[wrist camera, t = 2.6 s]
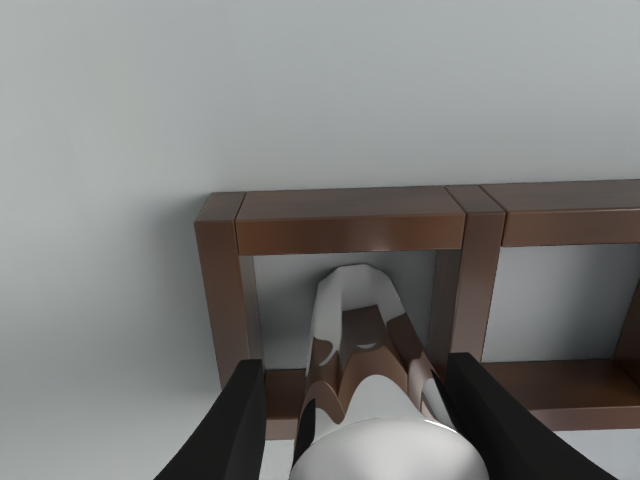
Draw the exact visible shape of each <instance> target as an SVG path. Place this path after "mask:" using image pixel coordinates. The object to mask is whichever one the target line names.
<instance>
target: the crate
mask: <svg viewBox="0 0 640 480" xmlns="http://www.w3.org/2000/svg"><path fill="white" fill-rule="evenodd" d="M194 227H195V233H196V239H197V245H198V251H199V257H200V263H201V269H202V275H203V281H204V287H205V293H206V299H207V305H208V311H209V317H210V323H211V329H212V335H213V341H214V347H215V353H216V359H217V365H218V371H219V377H220V383H221V389H222V390H223V389H224V387H225V385H226V384H227V382H228V380H229V379H230V377H231V375H232V373H233V372H234V370H235V368H236V366H237V364H238V362H239V361H241V360H243V359H262V364H263V373H264V383H265V392H266V401H267V423H266V437H265V440H292V439H295V434H296V428H297V422H298V416H299V410H300V404H301V399H302V395H303V390H304V382H305V374H306V370H278V371H266V373H265V364H264V355H263V346H262V336H261V327H260V318H259V308H258V299H257V290H256V280H255V271H254V262H253V256H254V255H285V254H317V253H348V252H379V251H410V250H437V255H436V266H435V276H434V286H433V296H432V306H431V316H430V326H429V336H428V346H427V357H428V359H429V361H430V362H431V364H432V366H433V368H434V369H435V371H436V373H437V375H438V376H439V378H440V380H441V381H442V383H443V385H444V384H445V376H446V368H447V360H448V353H456V352H469V353H470V354H471V355H472V356H473V357H474V358H475V359H476V360H477V361H478V362H479V363H480V364H481V365H482V366H483V367H484V368H485V369H486V370H487V371H488V372H489V373H490V374H491V375H492V376H493V377H494V378H495V379H496V380H497V381H498V382H499V383H500V384H501V385H502V386H503V387H504V388H505V389H506V390H507V391H508V392H509V393H510V394H511V395H512V396H513V397H514V398H515V399H516V400H517V401H518V402H520V403H521V404H522V405H523V406H524V407H525V408H526V409H527V410H528V411H529V412H530V413H531V414H532V415H534V416H535V417H536V418H537V419H538V420H539V421H541V422H542V423H543V424H544V425H545V426H546V427H548V428H549V429H550V430H551V431H576V430H606V429H637V428H640V281H639V283H638V286H637V289H636V292H635V295H634V298H633V301H632V304H631V307H630V310H629V313H628V316H627V319H626V322H625V325H624V328H623V331H622V334H621V337H620V340H619V343H618V346H617V349H616V352H615V355H614V358H613V360H612V359H601V360H571V361H540V362H510V363H481V359H482V353H483V347H484V341H485V335H486V329H487V323H488V318H489V312H490V306H491V300H492V294H493V288H494V282H495V276H496V270H497V264H498V258H499V252H500V246H502V247H525V246H556V245H587V244H618V243H640V180H609V181H578V182H546V183H515V184H484V185H478V186H477V185H453V186H444V187H443V186H414V187H383V188H351V189H320V190H289V191H257V192H247V193H246V192H223V193H212V194H211V195H210V197H209V199H208V200H207V202H206V203H205V205H204V207H203V208H202V210H201V211H200V213H199V215H198V216H197V218H196V219H195V221H194Z"/></svg>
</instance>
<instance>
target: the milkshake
mask: <svg viewBox="0 0 640 480" xmlns="http://www.w3.org/2000/svg"><path fill="white" fill-rule="evenodd" d="M288 480H489V475H488V471H487V468H486V466H485V463H484V461H483V459H482V457H481V455H480V453H479V451H478V449H477V447H476V445H475V444H474V442H473V440H472V438H471V436H470V434H469V432H468V430H467V428H466V426H465V425H464V423H463V421H462V419H461V417H460V415H459V413H458V411H457V409H456V408H455V406H454V404H453V402H452V400H451V398H450V396H449V394H448V392H447V391H446V389H445V387H444V385H443V383H442V381H441V380H440V378H439V376H438V375H437V373H436V371H435V369H434V368H433V366H432V364H431V362H430V361H429V359H428V357H427V355H426V353H425V351H424V349H423V347H422V345H421V343H420V341H419V339H418V337H417V335H416V332H415V330H414V328H413V326H412V324H411V322H410V320H409V318H408V315H407V313H406V311H405V309H404V307H403V305H402V303H401V301H400V298H399V296H398V294H397V292H396V290H395V288H394V286H393V283H392V281H391V279H390V277H389V275H387V274H385V273H383V272H381V271H379V270H377V269H375V268H373V267H371V266H369V265H367V264H359V265H350V266H341V267H338V268H336V269H335V270H334V271H333V272H332V273H330V274H329V275H328V276H327V277H325V278H324V279H323V280H322V281H321V282H319V284H318V288H317V293H316V297H315V302H314V306H313V314H312V322H311V331H310V340H309V348H308V357H307V365H306V374H305V382H304V390H303V395H302V399H301V404H300V410H299V416H298V422H297V428H296V434H295V440H294V447H293V453H292V459H291V465H290V472H289V479H288Z"/></svg>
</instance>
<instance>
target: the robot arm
mask: <svg viewBox="0 0 640 480" xmlns="http://www.w3.org/2000/svg"><path fill="white" fill-rule="evenodd" d="M444 387H445V389H446V391H447V392H448V394H449V396H450V398H451V400H452V402H453V404H454V406H455V408H456V409H457V411H458V413H459V415H460V417H461V419H462V421H463V423H464V425H465V426H466V428H467V430H468V432H469V434H470V436H471V438H472V440H473V442H474V444H475V445H476V447H477V449H478V451H479V453H480V455H481V457H482V459H483V461H484V463H485V466H486V468H487V471H488V475H489V480H618V479H617V478H615V477H614V476H612V475H611V474H609V473H608V472H606V471H605V470H603V469H602V468H600V467H599V466H597V465H596V464H594V463H593V462H592V461H590V460H589V459H587V458H586V457H585V456H583V455H582V454H581V453H579V452H578V451H577V450H575V449H574V448H573V447H571V446H570V445H569V444H567V443H566V442H565V441H563V440H562V439H561V438H560V437H558V436H557V435H556V434H555V433H553V432H552V431H551V430H550V429H549V428H548V427H546V426H545V425H544V424H543V423H542V422H541V421H539V420H538V419H537V418H536V417H535V416H534V415H532V414H531V413H530V412H529V411H528V410H527V409H526V408H525V407H524V406H523V405H522V404H521V403H520V402H518V401H517V400H516V399H515V398H514V397H513V396H512V395H511V394H510V393H509V392H508V391H507V390H506V389H505V388H504V387H503V386H502V385H501V384H500V383H499V382H498V381H497V380H496V379H495V378H494V377H493V376H492V375H491V374H490V373H489V372H488V371H487V370H486V369H485V368H484V367H483V366H482V365H481V364H480V363H479V362H478V361H477V360H476V359H475V358H474V357H473V356H472V355H471V354H470V353H469V352H456V353H448V360H447V368H446V376H445V384H444ZM266 423H267V401H266V392H265V383H264V373H263V364H262V359H243V360H241V361H239V362H238V364H237V366H236V368H235V370H234V372H233V373H232V375H231V377H230V379H229V380H228V382H227V384H226V385H225V387H224V389H223V390H222V392H221V393H220V395H219V397H218V398H217V400H216V401H215V403H214V404H213V406H212V407H211V409H210V410H209V412H208V413H207V415H206V416H205V417H204V419H203V420H202V422H201V423H200V424H199V426H198V427H197V428H196V430H195V431H194V432H193V434H192V435H191V436H190V438H189V439H188V440H187V441H186V443H185V444H184V445H183V446H182V448H181V449H180V450H179V451H178V453H177V454H176V455H175V456H174V457H173V458H172V460H171V461H170V462H169V463H168V464H167V465H166V466H165V468H164V469H163V470H162V471H161V472H160V473H159V474H158V475H157V476H156V477H155V478H154V479H153V480H259V474H260V469H261V463H262V457H263V452H264V446H265V437H266Z"/></svg>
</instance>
